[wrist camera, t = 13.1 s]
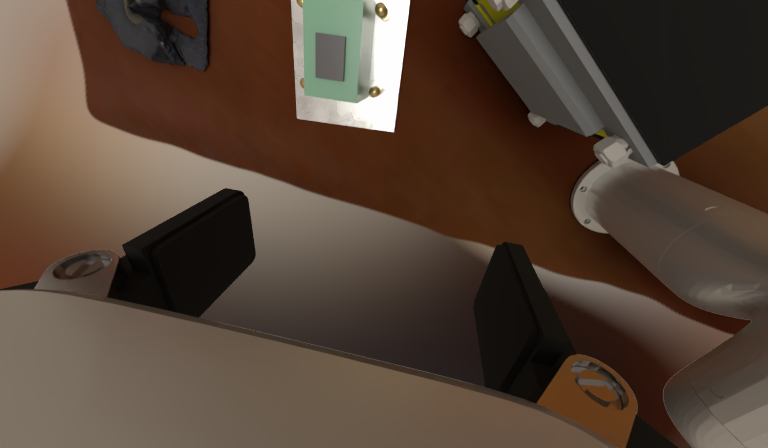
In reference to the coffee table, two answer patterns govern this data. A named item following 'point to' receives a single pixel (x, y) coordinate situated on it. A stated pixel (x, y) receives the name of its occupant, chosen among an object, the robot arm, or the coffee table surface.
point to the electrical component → (630, 68)
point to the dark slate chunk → (159, 29)
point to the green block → (338, 48)
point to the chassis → (383, 73)
